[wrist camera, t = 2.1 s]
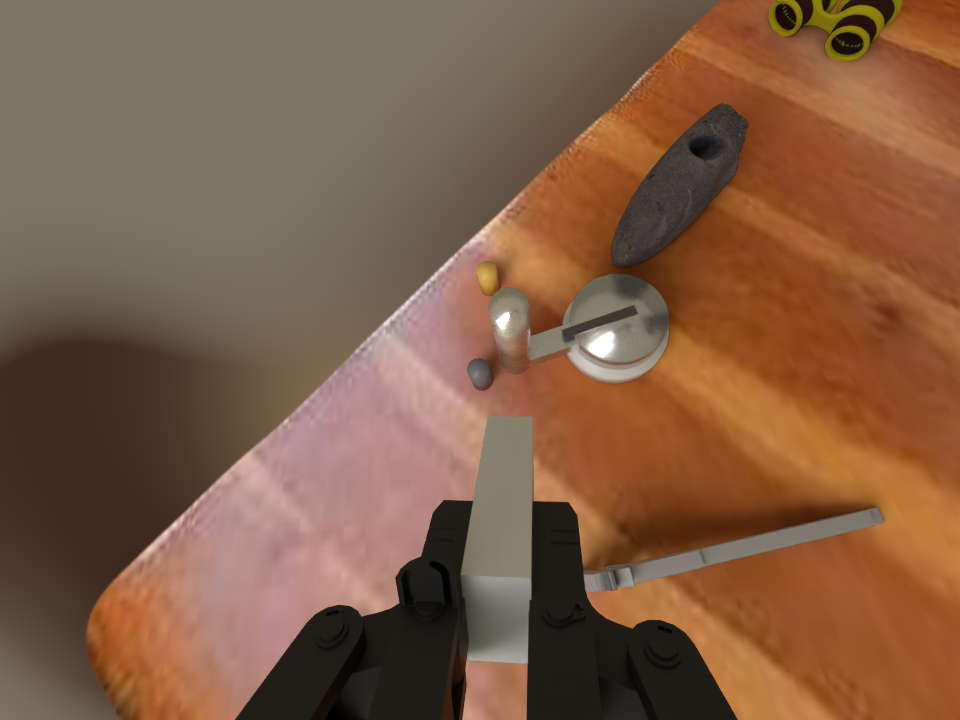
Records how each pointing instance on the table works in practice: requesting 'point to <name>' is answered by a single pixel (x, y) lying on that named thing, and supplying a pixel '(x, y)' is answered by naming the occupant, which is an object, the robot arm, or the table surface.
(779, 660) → the table surface
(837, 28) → the opera glasses
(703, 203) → the perforated stone tool
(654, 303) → the dial lever
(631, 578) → the caliper
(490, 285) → the shiny assorted pieces
